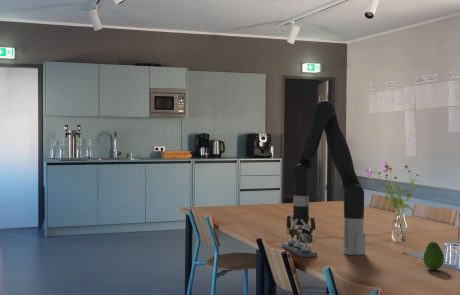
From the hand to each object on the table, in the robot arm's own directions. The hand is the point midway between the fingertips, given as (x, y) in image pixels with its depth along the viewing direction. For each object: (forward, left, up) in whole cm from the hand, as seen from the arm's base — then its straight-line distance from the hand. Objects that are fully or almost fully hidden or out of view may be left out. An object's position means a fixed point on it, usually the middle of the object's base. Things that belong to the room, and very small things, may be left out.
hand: (300, 237), depth 270 cm
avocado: (-60, -21, -6) cm, 64 cm away
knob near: (-9, +5, -4) cm, 11 cm away
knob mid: (-1, +2, -4) cm, 4 cm away
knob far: (+8, -1, -4) cm, 9 cm away
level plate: (-1, +2, -6) cm, 7 cm away
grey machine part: (+21, -22, -7) cm, 31 cm away
